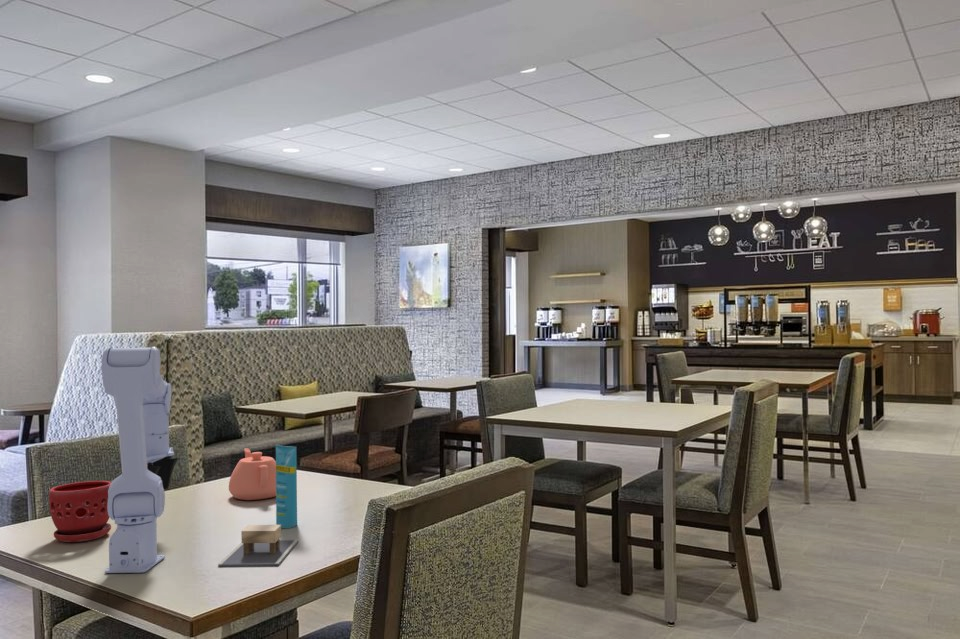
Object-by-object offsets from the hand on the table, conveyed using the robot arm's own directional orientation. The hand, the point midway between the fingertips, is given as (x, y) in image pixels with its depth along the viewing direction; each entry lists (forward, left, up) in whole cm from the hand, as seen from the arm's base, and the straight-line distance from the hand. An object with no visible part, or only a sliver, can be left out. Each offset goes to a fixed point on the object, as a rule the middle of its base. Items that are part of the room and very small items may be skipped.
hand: (156, 492), depth 168 cm
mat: (-14, -28, -10) cm, 33 cm away
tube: (+7, -28, -10) cm, 31 cm away
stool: (-14, -28, -10) cm, 33 cm away
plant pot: (0, +17, -10) cm, 20 cm away
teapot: (+39, -11, -10) cm, 42 cm away
